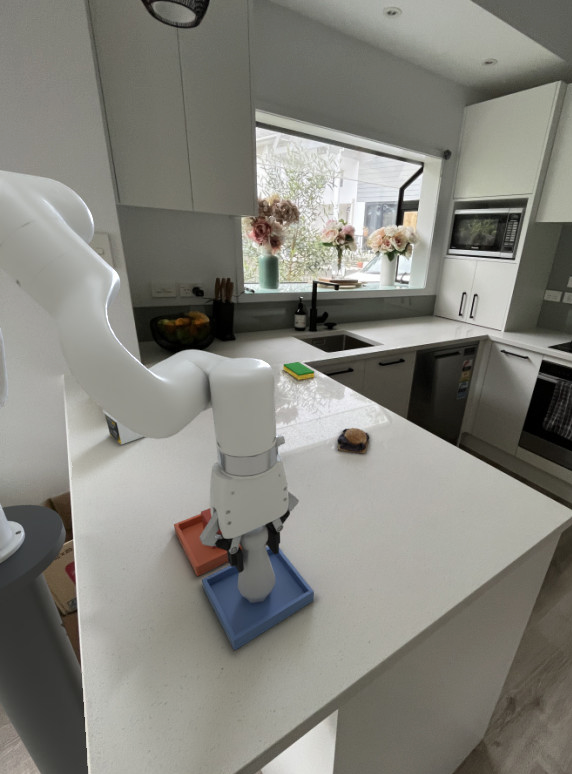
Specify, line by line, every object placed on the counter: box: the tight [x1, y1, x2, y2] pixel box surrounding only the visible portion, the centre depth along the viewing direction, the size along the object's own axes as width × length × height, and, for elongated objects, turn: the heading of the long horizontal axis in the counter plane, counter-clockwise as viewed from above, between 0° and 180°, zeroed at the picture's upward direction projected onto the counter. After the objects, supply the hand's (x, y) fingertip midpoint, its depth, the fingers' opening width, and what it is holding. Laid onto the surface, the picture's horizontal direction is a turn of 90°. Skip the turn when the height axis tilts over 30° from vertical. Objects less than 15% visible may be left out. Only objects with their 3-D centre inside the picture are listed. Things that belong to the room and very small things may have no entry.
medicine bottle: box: [104, 412, 144, 445], centre depth 100 cm, size 7×7×12 cm
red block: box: [200, 507, 222, 549], centre depth 69 cm, size 5×5×5 cm
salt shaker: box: [238, 525, 275, 603], centre depth 57 cm, size 6×6×13 cm
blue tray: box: [201, 546, 315, 651], centre depth 59 cm, size 13×12×2 cm
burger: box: [337, 427, 370, 455], centre depth 103 cm, size 11×8×4 cm
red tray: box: [173, 513, 242, 577], centre depth 70 cm, size 13×12×2 cm
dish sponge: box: [282, 361, 315, 381], centre depth 152 cm, size 7×14×2 cm, turn 33°
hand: (255, 555), depth 56 cm, fingers open, 5 cm apart
